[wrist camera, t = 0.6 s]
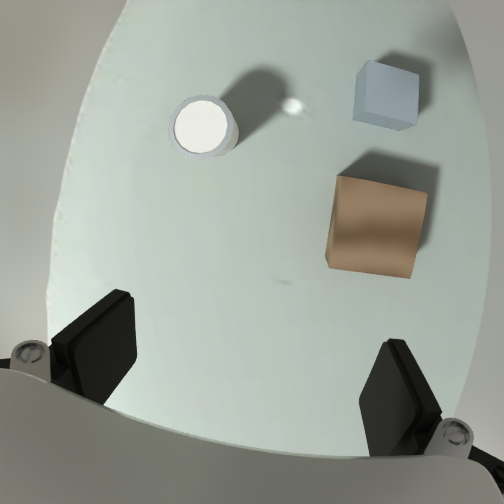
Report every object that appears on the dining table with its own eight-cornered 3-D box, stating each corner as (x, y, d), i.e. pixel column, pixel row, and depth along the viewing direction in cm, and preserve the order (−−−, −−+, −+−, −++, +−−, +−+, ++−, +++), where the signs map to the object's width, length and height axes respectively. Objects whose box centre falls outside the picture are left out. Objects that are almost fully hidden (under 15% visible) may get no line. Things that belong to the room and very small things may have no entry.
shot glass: (244, 106, 33) (234, 92, 26) (244, 161, 35) (233, 159, 28) (189, 109, 34) (168, 97, 27) (189, 162, 35) (167, 161, 29)
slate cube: (356, 75, 30) (367, 59, 24) (401, 87, 30) (419, 74, 24) (352, 120, 32) (364, 111, 26) (398, 131, 31) (416, 125, 25)
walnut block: (336, 175, 34) (344, 176, 29) (411, 189, 33) (427, 193, 28) (324, 255, 37) (329, 268, 32) (396, 265, 36) (410, 278, 31)
